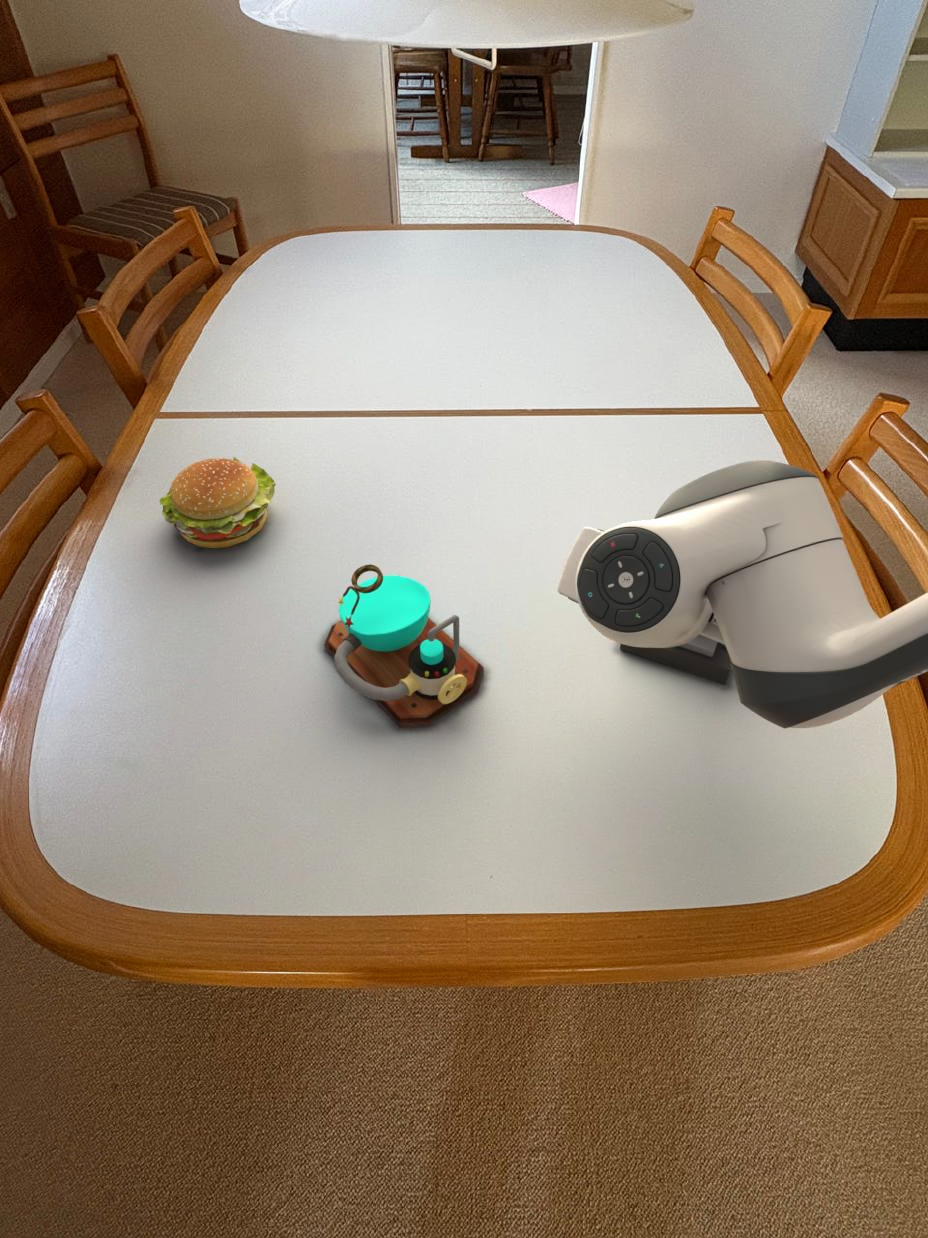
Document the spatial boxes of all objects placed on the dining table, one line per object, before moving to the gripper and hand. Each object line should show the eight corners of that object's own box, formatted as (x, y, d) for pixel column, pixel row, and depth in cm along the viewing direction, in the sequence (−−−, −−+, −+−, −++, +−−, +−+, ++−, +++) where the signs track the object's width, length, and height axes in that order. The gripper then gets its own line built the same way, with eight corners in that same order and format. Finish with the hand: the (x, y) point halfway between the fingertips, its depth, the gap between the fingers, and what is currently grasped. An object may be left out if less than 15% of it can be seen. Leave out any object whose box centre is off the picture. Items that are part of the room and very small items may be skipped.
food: (219, 573, 98) (204, 524, 92) (151, 527, 104) (132, 478, 98) (301, 517, 105) (291, 468, 99) (232, 477, 111) (219, 429, 105)
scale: (747, 612, 93) (755, 591, 91) (724, 685, 86) (732, 664, 83) (649, 582, 97) (654, 561, 94) (619, 649, 89) (623, 628, 87)
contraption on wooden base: (392, 752, 80) (380, 657, 69) (297, 649, 89) (273, 551, 78) (495, 681, 86) (499, 584, 75) (396, 592, 95) (387, 493, 84)
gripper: (801, 608, 62) (797, 615, 74) (567, 518, 69) (601, 539, 82) (767, 681, 62) (769, 675, 75) (540, 585, 70) (577, 595, 82)
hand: (680, 604), depth 79 cm, fingers open, 8 cm apart
